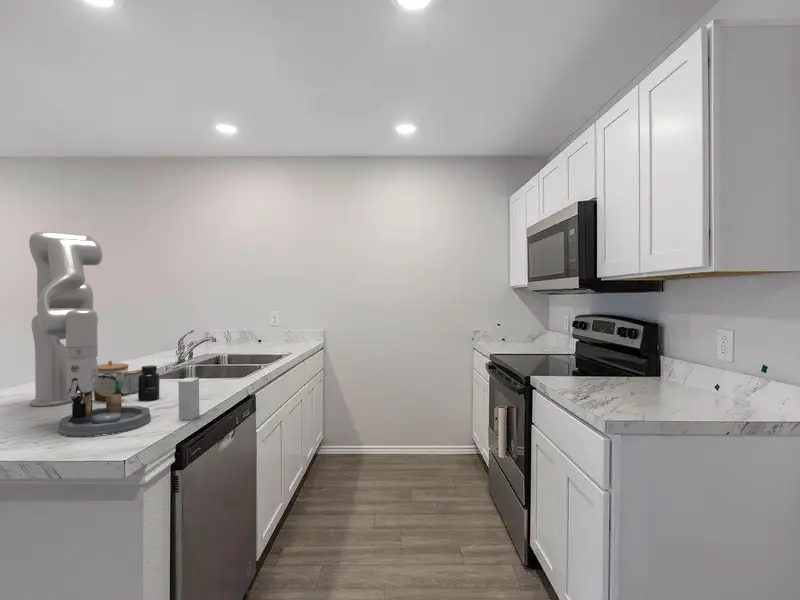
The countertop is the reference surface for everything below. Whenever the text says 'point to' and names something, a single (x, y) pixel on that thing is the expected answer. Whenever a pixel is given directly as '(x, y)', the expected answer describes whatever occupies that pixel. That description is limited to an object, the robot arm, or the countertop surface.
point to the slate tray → (106, 428)
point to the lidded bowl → (113, 367)
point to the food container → (108, 385)
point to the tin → (130, 382)
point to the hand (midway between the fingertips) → (82, 414)
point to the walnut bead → (113, 403)
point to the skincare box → (188, 398)
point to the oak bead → (87, 405)
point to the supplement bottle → (148, 384)
